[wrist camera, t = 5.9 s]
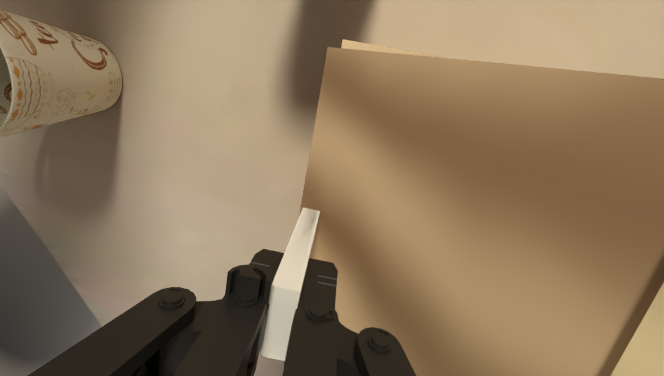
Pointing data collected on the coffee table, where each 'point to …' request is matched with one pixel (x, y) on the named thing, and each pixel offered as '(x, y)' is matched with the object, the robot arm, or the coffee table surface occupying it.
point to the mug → (51, 75)
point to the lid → (493, 212)
